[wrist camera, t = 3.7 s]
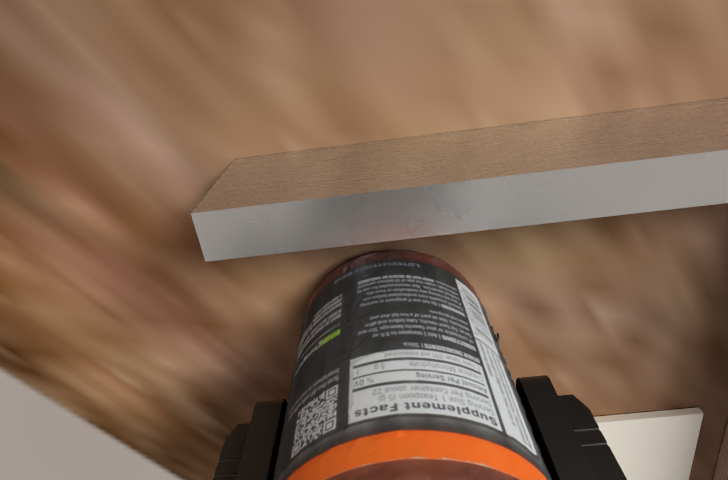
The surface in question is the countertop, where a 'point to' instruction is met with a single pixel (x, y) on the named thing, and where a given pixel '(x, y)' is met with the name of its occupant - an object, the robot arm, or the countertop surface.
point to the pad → (653, 442)
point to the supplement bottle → (402, 381)
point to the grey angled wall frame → (471, 183)
